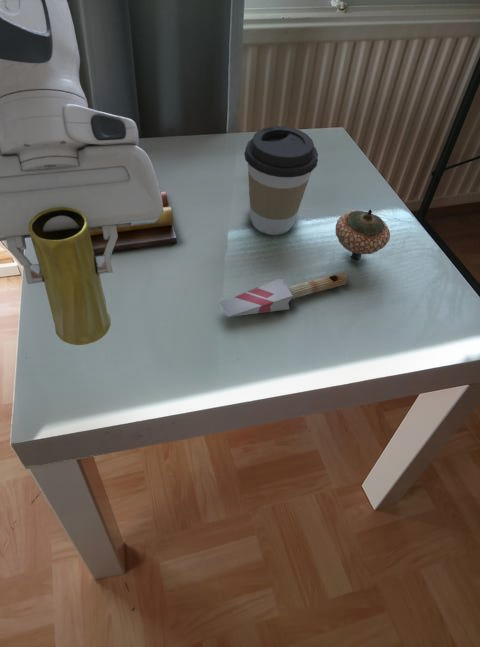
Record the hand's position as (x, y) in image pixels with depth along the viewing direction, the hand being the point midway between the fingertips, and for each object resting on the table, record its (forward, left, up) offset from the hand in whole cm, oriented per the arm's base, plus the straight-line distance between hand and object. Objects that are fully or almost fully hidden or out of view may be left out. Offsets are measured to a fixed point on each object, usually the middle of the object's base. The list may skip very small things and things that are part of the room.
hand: (71, 278), depth 51 cm
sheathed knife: (+28, +7, -17) cm, 34 cm away
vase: (0, +1, -8) cm, 8 cm away
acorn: (+42, +13, -17) cm, 47 cm away
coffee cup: (+32, +25, -17) cm, 44 cm away
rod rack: (+8, +29, -17) cm, 35 cm away
